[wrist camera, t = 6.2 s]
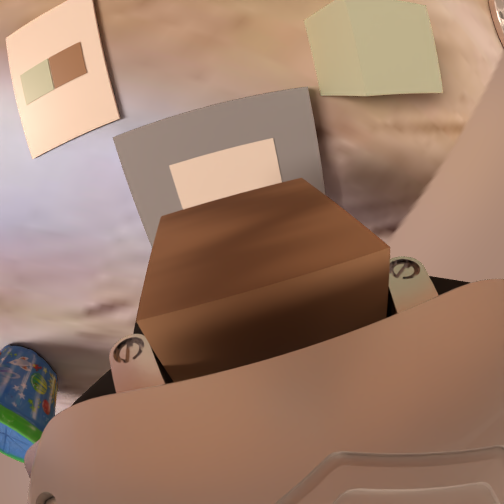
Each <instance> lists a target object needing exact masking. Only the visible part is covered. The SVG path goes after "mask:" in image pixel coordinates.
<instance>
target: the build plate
mask: <svg viewBox="0 0 504 504" xmlns="http://www.w3.org/2000/svg"><path fill="white" fill-rule="evenodd" d="M113 140H114V143H115V146H116V149H117V152H118V156H119V159H120V162H121V165H122V168H123V171H124V174H125V177H126V179H127V182H128V185H129V188H130V191H131V194H132V196H133V199H134V202H135V205H136V207H137V210H138V213H139V215H140V218H141V221H142V223H143V226H144V228H145V231H146V233H147V236H148V239H149V241H150V243H151V246H152V248H153V244H154V240H155V236H156V232H157V229H158V225H159V221H160V218H161V216H164V215H167V214H170V213H173V212H177V211H180V210H183V209H186V208H190V207H193V206H197V205H200V204H203V203H207V202H210V201H214V200H217V199H221V198H225V197H228V196H232V195H235V194H239V193H243V192H247V191H250V190H254V189H258V188H262V187H266V186H270V185H274V184H278V183H282V182H286V181H290V180H294V179H298V178H303V179H304V180H306V181H307V182H308V183H310V184H311V185H312V186H314V187H315V188H316V189H318V190H319V191H321V192H322V193H323V194H324V195H326V194H325V187H324V180H323V173H322V166H321V159H320V153H319V147H318V140H317V135H316V129H315V123H314V118H313V112H312V107H311V102H310V97H309V92H308V87H301V88H294V89H288V90H282V91H276V92H270V93H265V94H260V95H255V96H250V97H245V98H241V99H236V100H232V101H227V102H223V103H219V104H215V105H211V106H207V107H204V108H200V109H196V110H193V111H189V112H186V113H182V114H179V115H176V116H172V117H169V118H166V119H163V120H160V121H157V122H154V123H151V124H148V125H145V126H142V127H139V128H136V129H134V130H131V131H128V132H126V133H123V134H120V135H118V136H115V137H113Z"/></svg>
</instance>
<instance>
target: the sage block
mask: <svg viewBox="0 0 504 504" xmlns="http://www.w3.org/2000/svg"><path fill="white" fill-rule="evenodd" d="M304 24H305V28H306V32H307V36H308V40H309V44H310V48H311V52H312V57H313V61H314V66H315V70H316V75H317V80H318V85H319V90H320V95H321V96H374V95H389V94H410V93H443V89H442V82H441V75H440V68H439V62H438V56H437V51H436V46H435V41H434V36H433V32H432V28H431V23H430V19H429V16H428V12H427V8H426V5H421V4H416V3H410V2H404V1H398V0H334V1H333V2H331V3H329V4H328V5H326V6H325V7H323V8H322V9H320V10H319V11H317V12H316V13H314V14H313V15H311V16H310V17H308V18H307V19H305V20H304Z"/></svg>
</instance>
